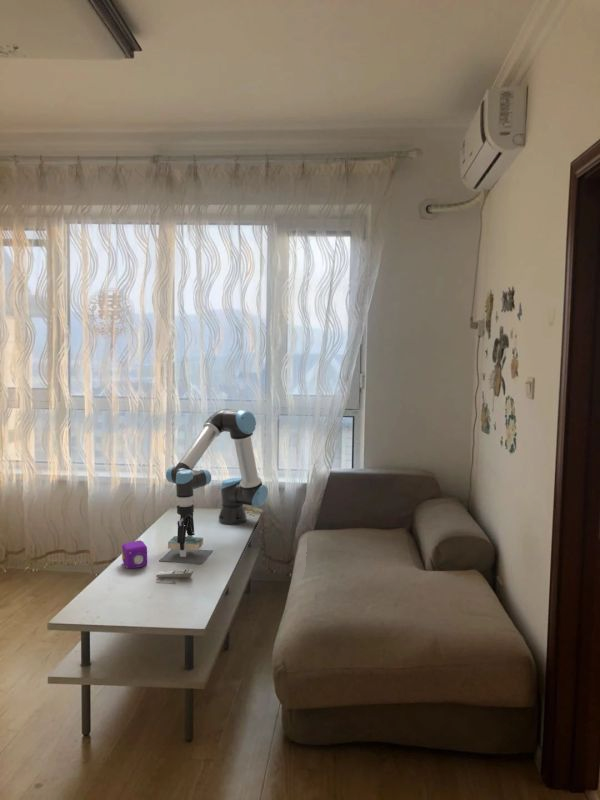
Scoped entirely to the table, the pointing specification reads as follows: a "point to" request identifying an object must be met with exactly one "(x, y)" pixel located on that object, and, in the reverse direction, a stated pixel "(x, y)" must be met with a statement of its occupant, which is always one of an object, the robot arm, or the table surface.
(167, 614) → the table surface
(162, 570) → the table surface
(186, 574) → the table surface
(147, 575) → the table surface
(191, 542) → the tile
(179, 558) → the mat
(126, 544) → the toy camera
